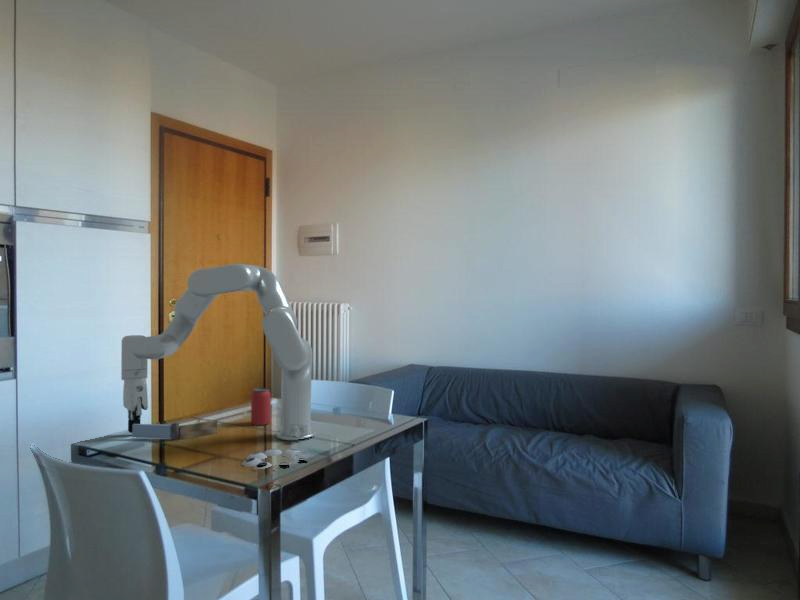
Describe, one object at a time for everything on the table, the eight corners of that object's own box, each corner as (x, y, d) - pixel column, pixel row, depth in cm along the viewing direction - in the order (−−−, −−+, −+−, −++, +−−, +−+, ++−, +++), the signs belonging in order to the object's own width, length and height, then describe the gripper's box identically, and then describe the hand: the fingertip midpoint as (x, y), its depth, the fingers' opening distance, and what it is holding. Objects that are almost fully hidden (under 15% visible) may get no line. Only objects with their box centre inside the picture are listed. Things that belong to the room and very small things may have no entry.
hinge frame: (214, 432, 184) (215, 417, 184) (217, 433, 182) (217, 418, 182) (170, 439, 174) (170, 423, 174) (173, 440, 173) (173, 424, 173)
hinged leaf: (171, 437, 175) (172, 424, 175) (170, 438, 174) (170, 425, 174) (134, 436, 175) (134, 423, 175) (132, 437, 174) (132, 424, 174)
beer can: (271, 424, 195) (272, 390, 195) (252, 426, 192) (252, 391, 192) (268, 420, 201) (269, 387, 201) (250, 422, 199) (250, 388, 198)
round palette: (327, 457, 159) (327, 450, 159) (288, 478, 141) (288, 470, 141) (269, 449, 166) (269, 442, 166) (225, 468, 148) (225, 461, 148)
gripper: (154, 375, 175) (154, 434, 176) (139, 370, 187) (139, 425, 187) (129, 378, 170) (128, 438, 171) (114, 372, 182) (114, 429, 182)
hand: (134, 431), depth 179 cm, fingers closed
